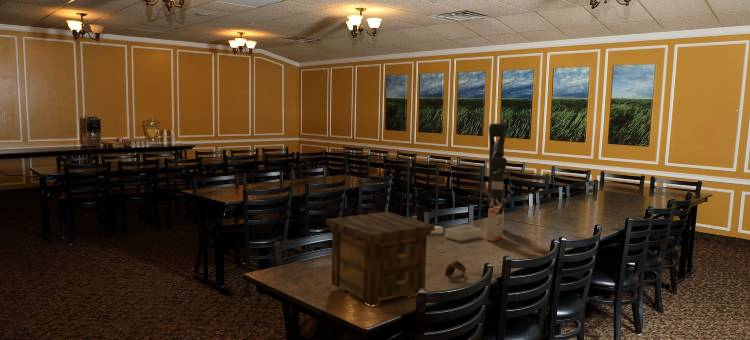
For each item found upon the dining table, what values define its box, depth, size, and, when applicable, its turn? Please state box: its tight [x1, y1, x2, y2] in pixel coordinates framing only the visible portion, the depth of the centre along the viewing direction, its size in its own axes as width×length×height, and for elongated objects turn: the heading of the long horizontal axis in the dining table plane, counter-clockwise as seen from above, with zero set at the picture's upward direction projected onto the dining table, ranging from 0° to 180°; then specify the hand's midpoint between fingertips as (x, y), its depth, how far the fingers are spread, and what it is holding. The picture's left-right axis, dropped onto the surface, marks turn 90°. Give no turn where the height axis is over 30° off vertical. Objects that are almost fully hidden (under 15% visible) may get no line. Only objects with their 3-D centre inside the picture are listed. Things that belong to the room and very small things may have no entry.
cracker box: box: [486, 206, 505, 242], centre depth 342 cm, size 14×6×21 cm, turn 145°
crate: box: [324, 211, 436, 306], centre depth 237 cm, size 35×35×33 cm
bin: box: [444, 224, 482, 242], centre depth 345 cm, size 13×21×6 cm, turn 129°
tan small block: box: [431, 225, 444, 235], centre depth 357 cm, size 8×8×4 cm
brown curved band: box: [444, 260, 467, 277], centre depth 265 cm, size 12×10×8 cm
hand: (496, 213), depth 341 cm, fingers open, 7 cm apart
